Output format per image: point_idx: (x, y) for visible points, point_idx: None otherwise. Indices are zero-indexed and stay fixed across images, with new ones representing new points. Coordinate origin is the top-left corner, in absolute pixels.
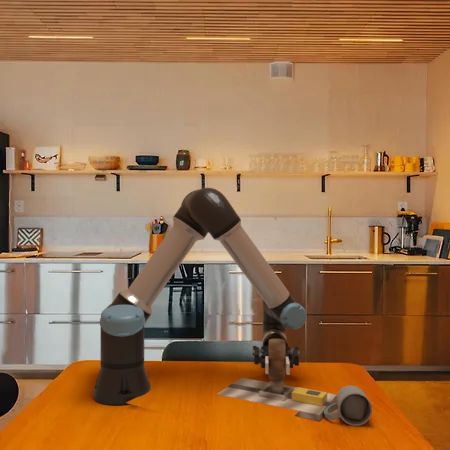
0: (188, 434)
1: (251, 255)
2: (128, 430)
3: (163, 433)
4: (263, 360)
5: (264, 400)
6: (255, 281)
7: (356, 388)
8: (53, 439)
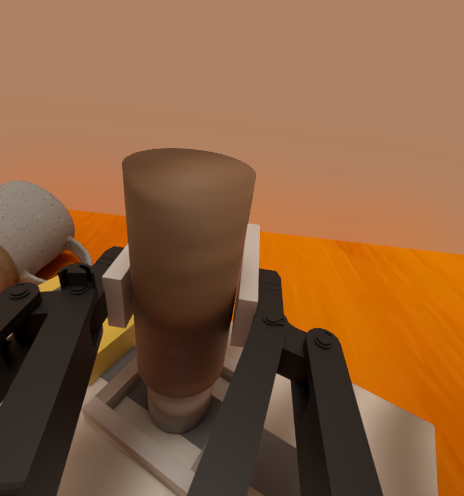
0: (379, 264)
1: None
2: None
3: (423, 271)
4: (266, 285)
5: (238, 347)
6: None
7: None
8: None
